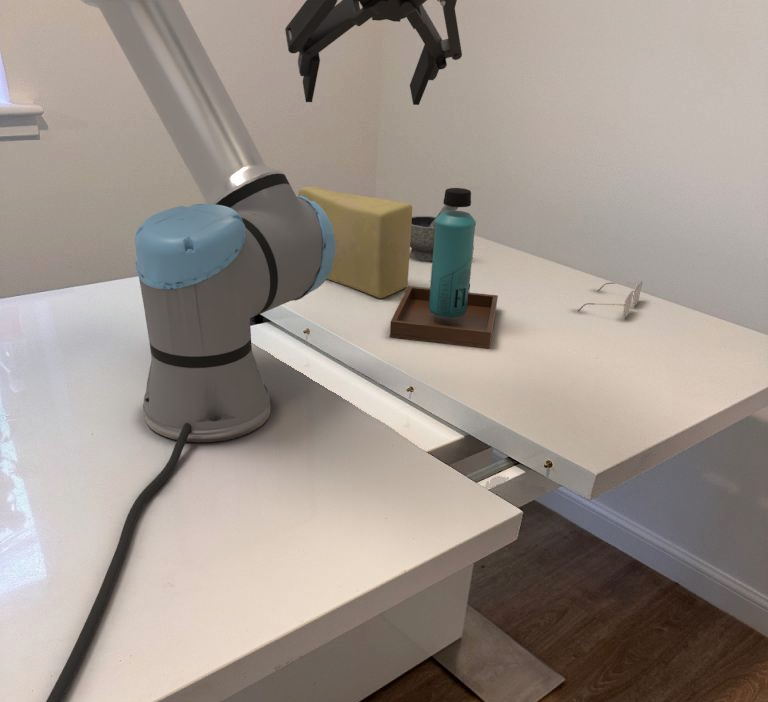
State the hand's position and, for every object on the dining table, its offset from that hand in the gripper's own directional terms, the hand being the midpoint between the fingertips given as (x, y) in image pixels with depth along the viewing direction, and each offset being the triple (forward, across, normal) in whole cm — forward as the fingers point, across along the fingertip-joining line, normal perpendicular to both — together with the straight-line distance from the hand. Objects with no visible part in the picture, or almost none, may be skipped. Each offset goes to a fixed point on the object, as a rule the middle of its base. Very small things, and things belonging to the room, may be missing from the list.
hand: (361, 93), depth 88 cm
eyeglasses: (+31, +50, -16) cm, 61 cm away
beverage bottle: (+29, +18, -18) cm, 38 cm away
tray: (+29, +18, -18) cm, 39 cm away
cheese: (+46, +6, -2) cm, 47 cm away
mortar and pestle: (+55, +27, +7) cm, 62 cm away
